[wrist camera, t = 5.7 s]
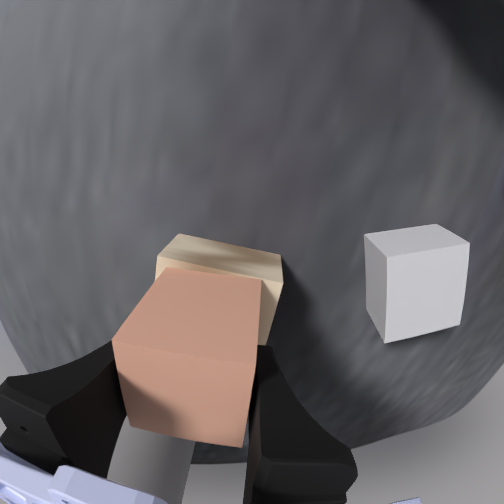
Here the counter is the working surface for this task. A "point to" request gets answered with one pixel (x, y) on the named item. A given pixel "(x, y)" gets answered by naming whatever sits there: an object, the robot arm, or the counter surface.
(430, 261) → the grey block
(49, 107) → the counter surface
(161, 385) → the terracotta block
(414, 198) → the counter surface
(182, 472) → the cup
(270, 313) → the oak base block
